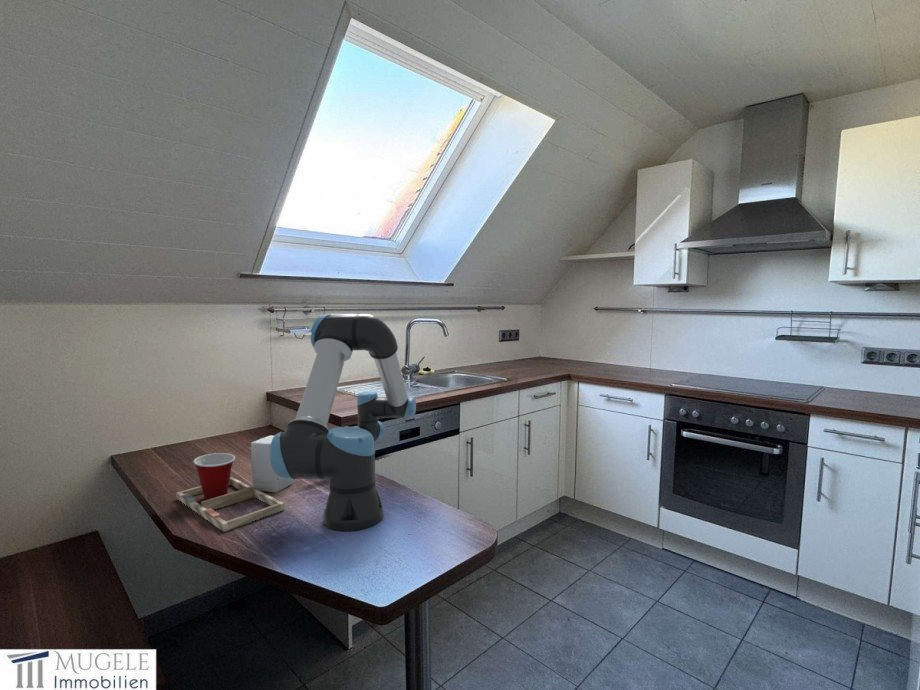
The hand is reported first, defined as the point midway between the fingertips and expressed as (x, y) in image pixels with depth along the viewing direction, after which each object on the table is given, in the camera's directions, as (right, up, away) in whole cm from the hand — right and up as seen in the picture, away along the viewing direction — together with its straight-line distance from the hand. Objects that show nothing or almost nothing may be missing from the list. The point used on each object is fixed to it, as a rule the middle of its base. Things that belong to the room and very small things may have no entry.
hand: (298, 453), depth 151 cm
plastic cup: (-19, -10, -15) cm, 26 cm away
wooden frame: (-12, -10, -20) cm, 26 cm away
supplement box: (-5, -9, -7) cm, 12 cm away
